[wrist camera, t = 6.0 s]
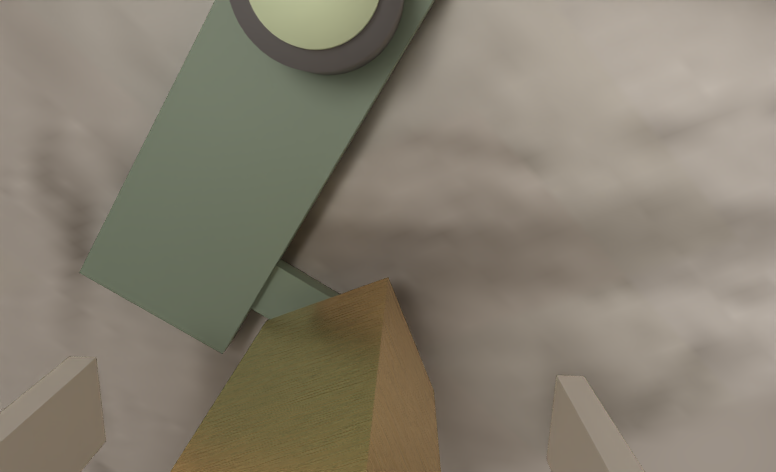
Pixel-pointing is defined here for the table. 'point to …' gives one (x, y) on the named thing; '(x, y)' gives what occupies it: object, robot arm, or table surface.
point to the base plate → (246, 159)
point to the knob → (324, 395)
